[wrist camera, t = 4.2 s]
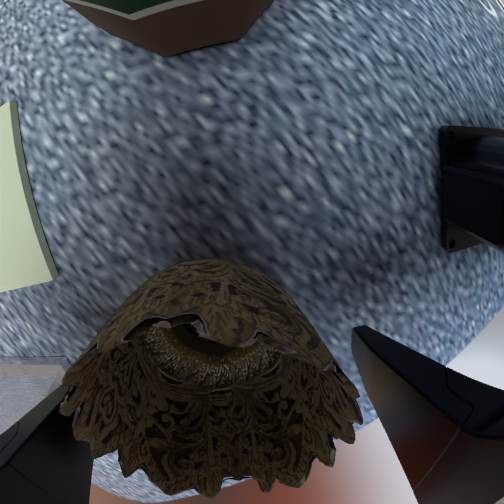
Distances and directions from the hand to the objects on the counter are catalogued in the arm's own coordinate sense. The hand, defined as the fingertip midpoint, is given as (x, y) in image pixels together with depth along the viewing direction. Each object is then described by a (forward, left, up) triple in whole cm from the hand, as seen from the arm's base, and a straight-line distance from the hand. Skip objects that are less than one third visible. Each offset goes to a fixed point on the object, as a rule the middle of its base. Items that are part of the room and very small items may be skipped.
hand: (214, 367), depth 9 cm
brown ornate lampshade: (0, 0, -5) cm, 5 cm away
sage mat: (+12, -7, -5) cm, 15 cm away
